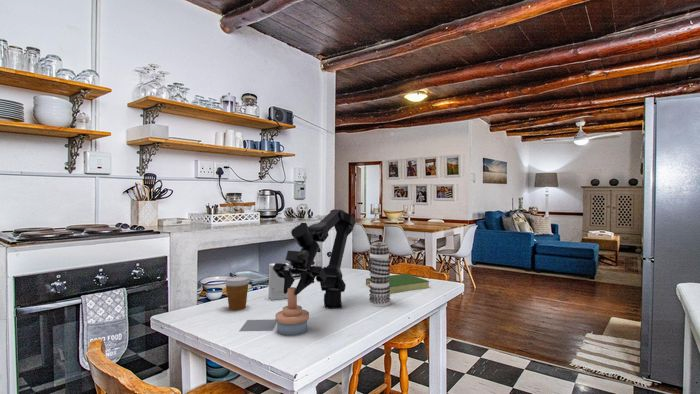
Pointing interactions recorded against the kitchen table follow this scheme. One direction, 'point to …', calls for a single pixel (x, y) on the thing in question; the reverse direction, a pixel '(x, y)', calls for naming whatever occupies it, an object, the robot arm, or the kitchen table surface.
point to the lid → (292, 311)
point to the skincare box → (276, 284)
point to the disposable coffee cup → (237, 292)
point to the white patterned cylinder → (379, 274)
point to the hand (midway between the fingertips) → (289, 294)
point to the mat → (259, 325)
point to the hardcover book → (404, 283)
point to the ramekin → (292, 328)
